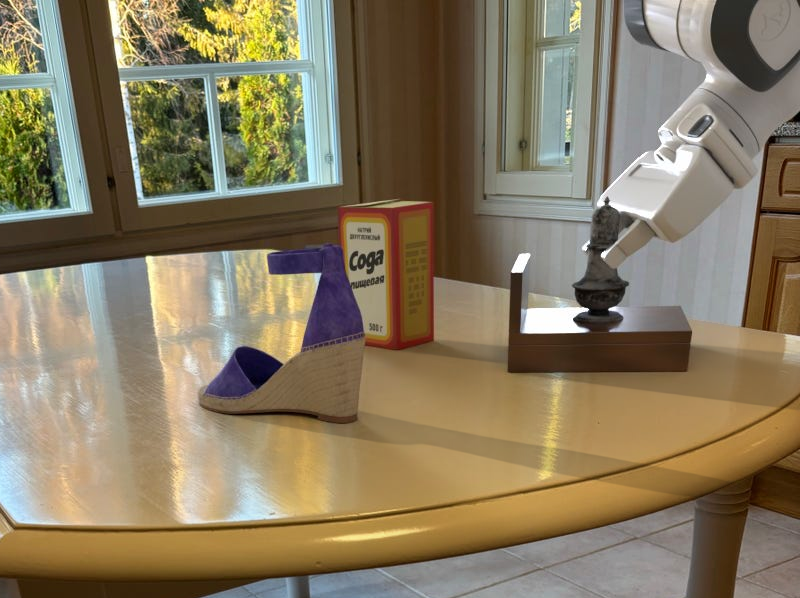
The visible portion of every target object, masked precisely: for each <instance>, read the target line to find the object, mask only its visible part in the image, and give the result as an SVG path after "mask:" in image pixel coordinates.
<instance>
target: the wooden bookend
mask: <svg viewBox="0 0 800 598" xmlns="http://www.w3.org/2000/svg"><path fill="white" fill-rule="evenodd" d="M530 268H531V253H520V254H518V257H517V258H516V261H515V263H514V265H513V267H512V270H510V271H511V272H510V278H509V282H510V284H509V310H508V311H509V312H508V338H507V341H508V343H507V344H508V346H507V373H603V372H605V373H608V372H609V373H612V372H614V373H615V372H617V373H618V372H619V373H622V372H623V373H624V372H629V373H630V372H688V368H689V361H690V353H691V345H692V337H693V329H692V327H691V325H690V323H689V321H688V318H687V316H686V315H685V312H684V310H683V308H682V306H681V305H653V306H652V305H651V306H649V305H648V306H615V307H612V308H610V309H609V310H610V311H616V312H618V313H619V314H621V315H622V316H623V319H622V320H620V321H616V322H610V323H582V322H576V321H574V320H573V317H574V316H575V315H577V314H578V313H580V312H583V311H588V310H589V309H586V308H584V307H567V308H566V307H565V308H563V307H560V308H529V292H530V273H531V272H530Z"/></svg>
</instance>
